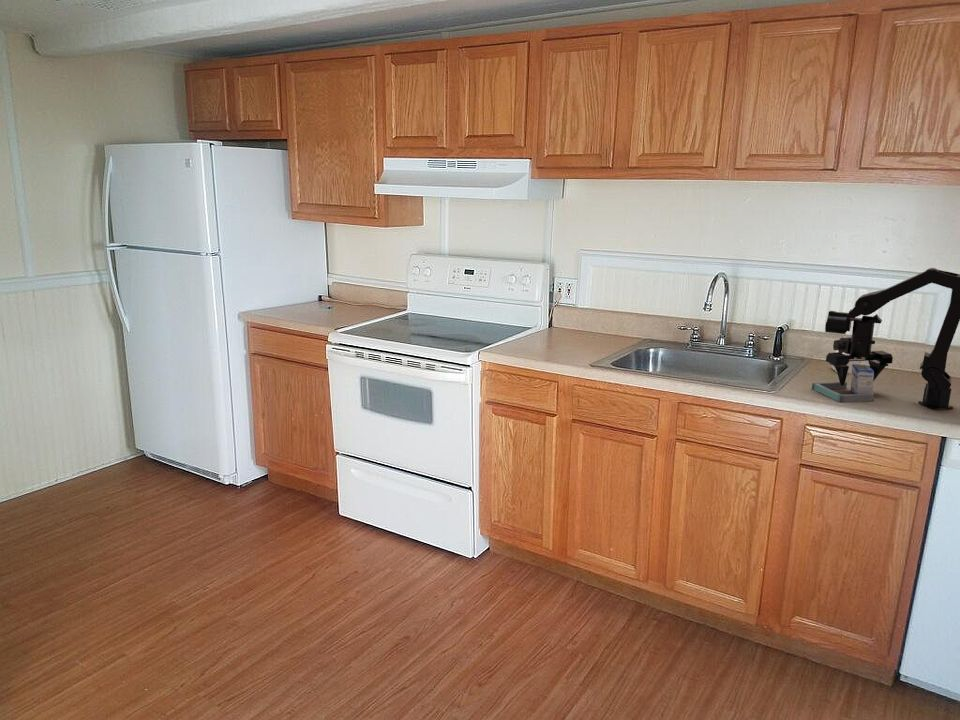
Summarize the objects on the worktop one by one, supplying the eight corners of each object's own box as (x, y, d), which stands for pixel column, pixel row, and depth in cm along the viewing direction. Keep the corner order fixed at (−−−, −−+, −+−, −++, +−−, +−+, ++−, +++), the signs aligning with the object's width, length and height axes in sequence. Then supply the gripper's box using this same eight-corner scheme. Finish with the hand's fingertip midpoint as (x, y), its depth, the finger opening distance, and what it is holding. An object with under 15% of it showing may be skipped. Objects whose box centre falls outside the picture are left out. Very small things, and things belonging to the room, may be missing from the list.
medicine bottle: (859, 374, 245) (863, 340, 242) (836, 373, 246) (841, 339, 243) (852, 369, 252) (857, 336, 249) (831, 368, 253) (835, 335, 250)
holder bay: (873, 401, 215) (874, 394, 215) (839, 402, 214) (840, 396, 213) (844, 387, 229) (844, 381, 229) (811, 388, 228) (812, 382, 227)
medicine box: (850, 390, 226) (851, 363, 225) (865, 389, 225) (867, 363, 223) (856, 397, 219) (858, 370, 217) (873, 397, 218) (874, 369, 216)
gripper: (873, 329, 226) (867, 376, 230) (818, 331, 224) (813, 379, 228) (897, 337, 216) (890, 386, 220) (839, 339, 213) (833, 388, 217)
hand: (855, 384), depth 221 cm, fingers open, 9 cm apart
